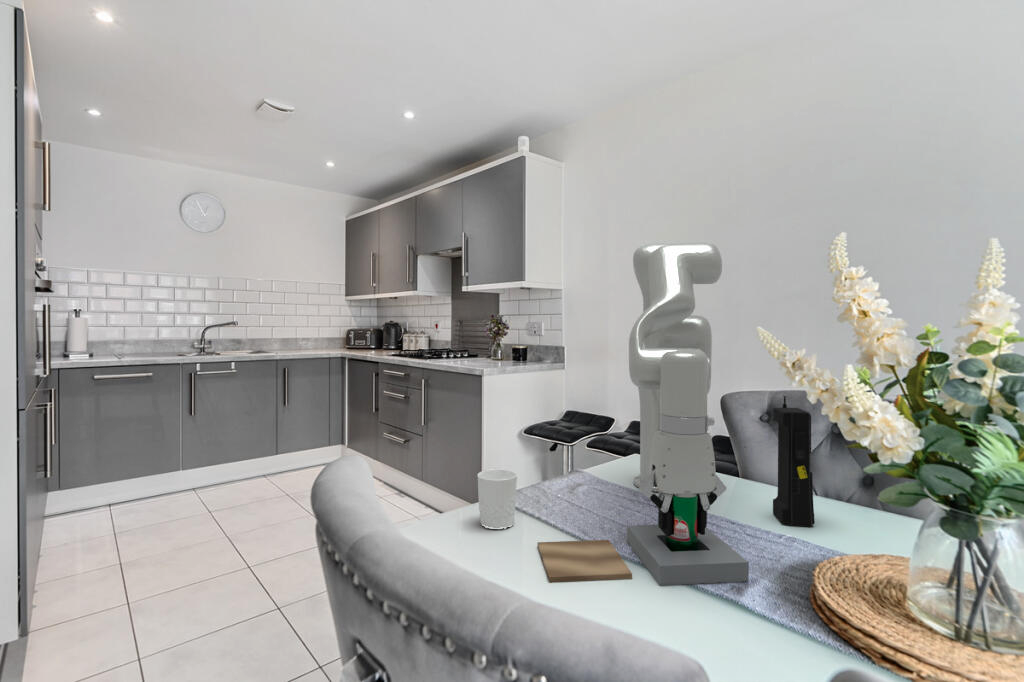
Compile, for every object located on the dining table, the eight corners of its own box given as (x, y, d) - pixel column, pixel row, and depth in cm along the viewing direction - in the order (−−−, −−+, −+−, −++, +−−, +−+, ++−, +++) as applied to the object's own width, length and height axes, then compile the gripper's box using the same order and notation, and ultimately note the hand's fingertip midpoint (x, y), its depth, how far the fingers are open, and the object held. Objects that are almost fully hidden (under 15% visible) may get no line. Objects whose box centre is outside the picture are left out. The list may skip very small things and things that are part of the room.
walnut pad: (537, 546, 91) (537, 542, 91) (608, 544, 92) (608, 539, 92) (549, 582, 78) (549, 577, 78) (632, 578, 79) (632, 573, 79)
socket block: (626, 542, 93) (626, 525, 93) (700, 539, 94) (700, 523, 94) (660, 585, 77) (660, 565, 77) (748, 581, 78) (748, 562, 78)
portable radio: (818, 530, 99) (819, 401, 98) (784, 527, 100) (785, 400, 99) (803, 515, 106) (804, 396, 106) (772, 513, 107) (773, 395, 107)
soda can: (660, 556, 86) (660, 486, 86) (676, 548, 89) (677, 480, 89) (687, 567, 82) (688, 493, 82) (703, 557, 86) (704, 487, 85)
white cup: (469, 523, 102) (469, 473, 102) (500, 514, 107) (500, 466, 107) (493, 535, 96) (493, 482, 96) (525, 525, 101) (525, 475, 101)
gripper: (720, 420, 90) (719, 522, 90) (626, 421, 88) (625, 525, 89) (743, 428, 82) (742, 539, 83) (641, 430, 81) (640, 543, 81)
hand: (682, 531), depth 86 cm, fingers closed on soda can, 5 cm apart
